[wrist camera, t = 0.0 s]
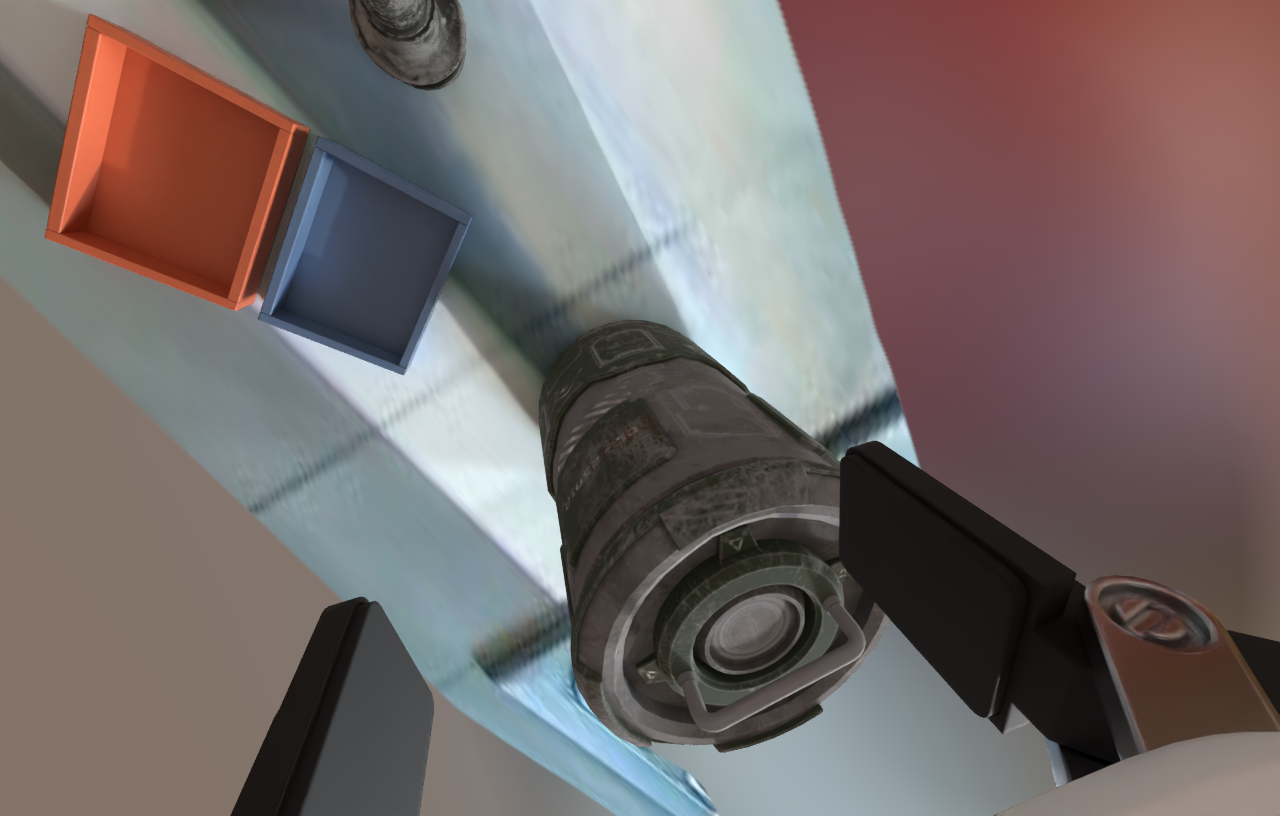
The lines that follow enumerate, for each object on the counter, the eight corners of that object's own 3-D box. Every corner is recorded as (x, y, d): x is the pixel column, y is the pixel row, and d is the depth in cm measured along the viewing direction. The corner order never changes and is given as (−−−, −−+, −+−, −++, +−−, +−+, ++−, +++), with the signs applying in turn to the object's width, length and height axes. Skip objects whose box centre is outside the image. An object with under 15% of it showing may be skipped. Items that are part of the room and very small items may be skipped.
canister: (673, 283, 40) (950, 434, 15) (732, 430, 47) (985, 698, 22) (501, 372, 39) (489, 685, 14) (588, 507, 46) (681, 870, 22)
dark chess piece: (352, 58, 29) (264, -20, 18) (385, -48, 28) (309, -197, 17) (450, 115, 31) (421, 76, 21) (485, 21, 30) (473, -73, 19)
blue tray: (331, 139, 30) (317, 135, 28) (473, 216, 34) (471, 218, 32) (273, 311, 33) (257, 319, 31) (410, 364, 37) (403, 375, 35)
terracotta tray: (123, 27, 26) (88, 12, 24) (310, 128, 30) (294, 123, 28) (78, 234, 29) (43, 237, 27) (253, 303, 33) (235, 311, 31)
